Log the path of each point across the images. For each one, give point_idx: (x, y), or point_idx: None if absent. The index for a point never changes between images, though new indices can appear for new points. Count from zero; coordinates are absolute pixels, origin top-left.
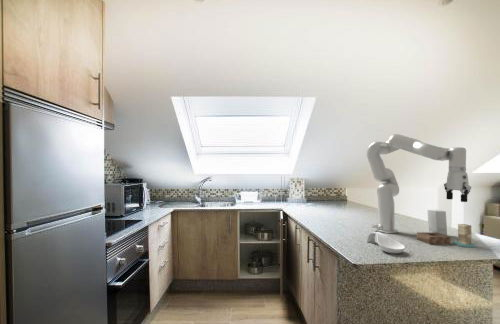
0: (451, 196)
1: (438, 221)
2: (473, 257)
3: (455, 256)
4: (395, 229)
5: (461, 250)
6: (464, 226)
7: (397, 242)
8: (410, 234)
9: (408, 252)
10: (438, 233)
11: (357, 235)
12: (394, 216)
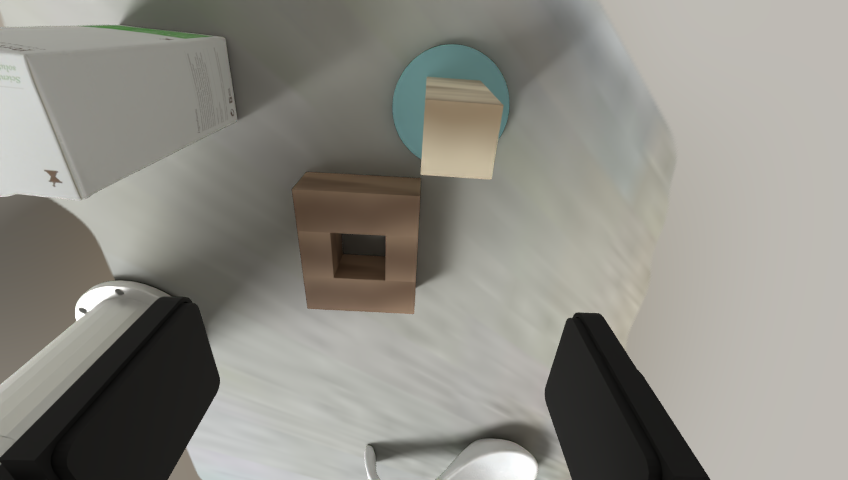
0: (162, 371)
1: (164, 140)
2: (635, 252)
3: (597, 310)
4: (123, 289)
5: (536, 217)
6: (490, 172)
7: (480, 458)
8: (199, 247)
9: (510, 417)
10: (326, 203)
11: (272, 454)
12: (78, 375)
